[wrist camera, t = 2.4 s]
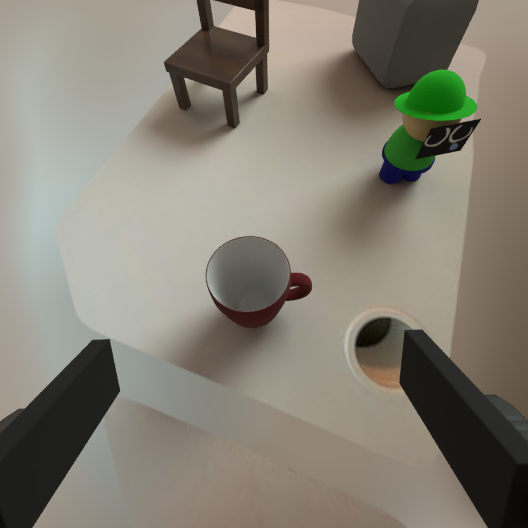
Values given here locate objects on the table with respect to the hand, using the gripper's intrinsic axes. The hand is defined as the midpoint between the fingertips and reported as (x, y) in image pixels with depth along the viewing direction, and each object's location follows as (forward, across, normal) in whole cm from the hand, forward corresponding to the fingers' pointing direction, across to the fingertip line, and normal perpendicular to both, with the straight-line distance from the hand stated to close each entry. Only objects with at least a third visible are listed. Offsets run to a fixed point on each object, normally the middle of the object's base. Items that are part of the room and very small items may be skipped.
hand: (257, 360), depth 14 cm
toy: (+38, +21, +6) cm, 44 cm away
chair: (+51, -6, +20) cm, 55 cm away
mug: (+24, 0, -8) cm, 25 cm away
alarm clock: (+57, +25, +25) cm, 67 cm away
